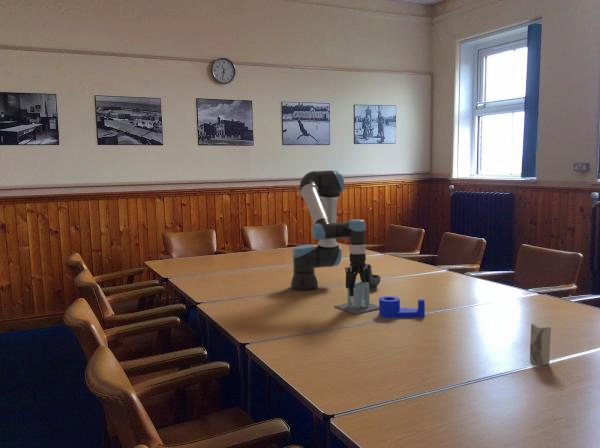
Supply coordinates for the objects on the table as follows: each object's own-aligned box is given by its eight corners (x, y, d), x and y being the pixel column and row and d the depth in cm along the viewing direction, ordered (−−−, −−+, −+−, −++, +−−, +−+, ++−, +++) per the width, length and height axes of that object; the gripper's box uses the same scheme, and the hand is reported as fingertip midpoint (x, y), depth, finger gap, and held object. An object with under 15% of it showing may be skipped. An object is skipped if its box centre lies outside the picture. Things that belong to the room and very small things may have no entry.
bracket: (379, 318, 227) (378, 301, 227) (379, 312, 236) (379, 296, 236) (425, 319, 224) (425, 302, 223) (423, 313, 233) (423, 296, 232)
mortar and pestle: (382, 290, 276) (382, 268, 275) (365, 291, 275) (364, 269, 274) (376, 285, 287) (376, 264, 286) (360, 286, 286) (359, 265, 285)
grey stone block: (529, 360, 174) (529, 322, 173) (541, 359, 175) (542, 322, 173) (537, 366, 169) (538, 327, 168) (550, 365, 170) (551, 327, 168)
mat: (334, 307, 246) (334, 306, 246) (360, 301, 255) (360, 300, 255) (356, 314, 233) (356, 313, 233) (382, 308, 242) (382, 307, 242)
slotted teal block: (347, 305, 245) (347, 282, 244) (359, 302, 249) (359, 280, 248) (357, 308, 239) (357, 285, 238) (369, 305, 243) (369, 283, 242)
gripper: (346, 256, 233) (347, 306, 235) (378, 251, 243) (378, 299, 246) (336, 254, 239) (337, 303, 242) (367, 249, 249) (368, 296, 252)
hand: (358, 301), depth 244 cm, fingers closed on slotted teal block, 6 cm apart
